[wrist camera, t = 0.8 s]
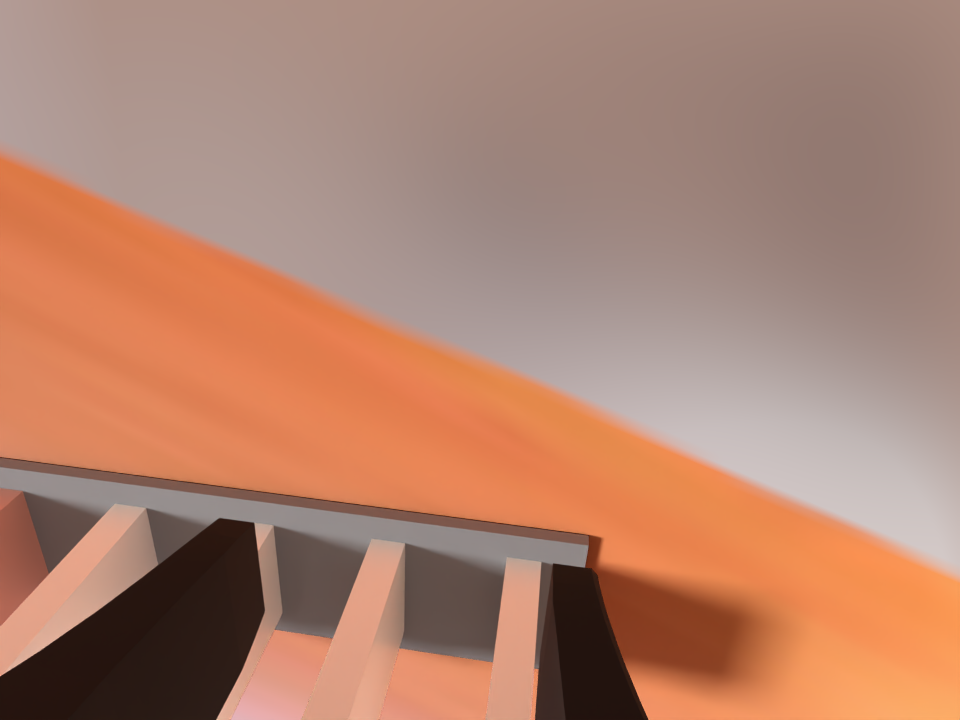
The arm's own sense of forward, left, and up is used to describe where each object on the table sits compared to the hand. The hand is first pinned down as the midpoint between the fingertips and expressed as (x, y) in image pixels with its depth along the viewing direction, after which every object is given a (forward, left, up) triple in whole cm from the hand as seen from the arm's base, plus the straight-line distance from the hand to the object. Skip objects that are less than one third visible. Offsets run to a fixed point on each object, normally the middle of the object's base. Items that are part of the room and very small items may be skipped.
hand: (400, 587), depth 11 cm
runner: (-7, +11, -10) cm, 17 cm away
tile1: (-11, +2, -10) cm, 15 cm away
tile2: (-9, +7, -10) cm, 15 cm away
